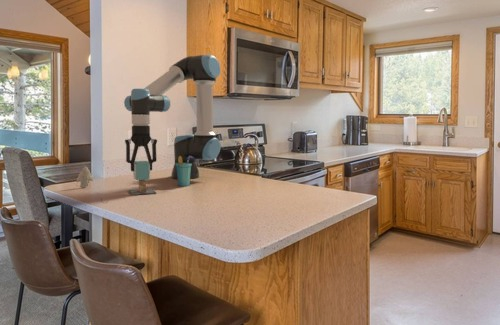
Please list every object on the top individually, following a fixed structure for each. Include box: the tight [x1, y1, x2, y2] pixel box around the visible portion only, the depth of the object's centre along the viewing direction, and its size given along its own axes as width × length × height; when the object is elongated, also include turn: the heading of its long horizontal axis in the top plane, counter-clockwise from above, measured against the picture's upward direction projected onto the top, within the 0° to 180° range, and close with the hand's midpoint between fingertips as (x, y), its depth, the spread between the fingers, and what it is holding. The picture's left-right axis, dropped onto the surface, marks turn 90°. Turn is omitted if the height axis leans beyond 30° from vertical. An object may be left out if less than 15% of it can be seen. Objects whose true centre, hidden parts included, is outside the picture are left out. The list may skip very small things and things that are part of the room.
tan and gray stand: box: [128, 180, 157, 196], centre depth 172 cm, size 10×10×7 cm
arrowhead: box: [76, 166, 94, 189], centre depth 182 cm, size 8×3×10 cm, turn 139°
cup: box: [176, 156, 194, 187], centre depth 189 cm, size 14×8×15 cm, turn 46°
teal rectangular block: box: [134, 160, 150, 181], centre depth 171 cm, size 5×5×8 cm
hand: (141, 178), depth 171 cm, fingers closed on teal rectangular block, 5 cm apart
